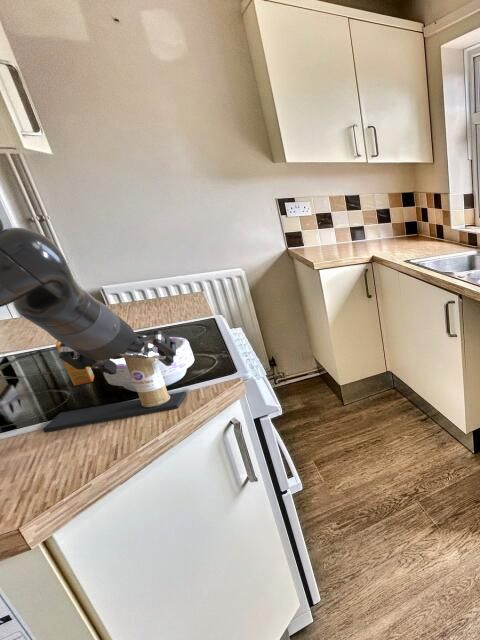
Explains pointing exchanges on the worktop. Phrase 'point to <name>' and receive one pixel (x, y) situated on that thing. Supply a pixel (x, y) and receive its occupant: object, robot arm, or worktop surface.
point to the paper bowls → (169, 373)
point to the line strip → (109, 412)
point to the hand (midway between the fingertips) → (142, 365)
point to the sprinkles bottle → (147, 380)
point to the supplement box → (77, 372)
